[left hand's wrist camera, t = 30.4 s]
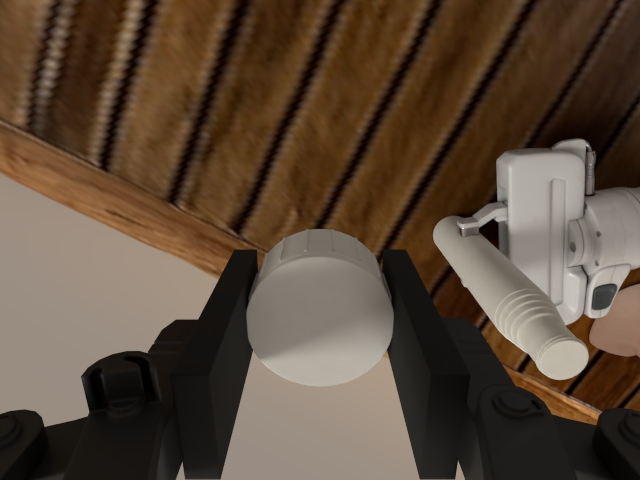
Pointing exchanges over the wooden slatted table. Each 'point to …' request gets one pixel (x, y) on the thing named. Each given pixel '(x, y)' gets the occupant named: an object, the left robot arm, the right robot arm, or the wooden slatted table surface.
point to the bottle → (512, 302)
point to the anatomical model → (620, 325)
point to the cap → (320, 309)
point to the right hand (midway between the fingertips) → (460, 254)
